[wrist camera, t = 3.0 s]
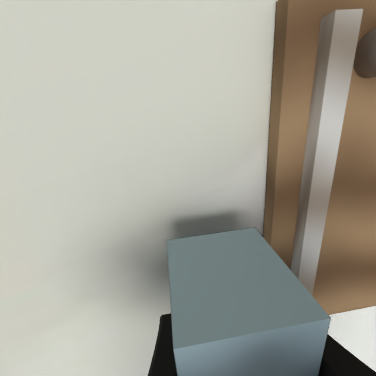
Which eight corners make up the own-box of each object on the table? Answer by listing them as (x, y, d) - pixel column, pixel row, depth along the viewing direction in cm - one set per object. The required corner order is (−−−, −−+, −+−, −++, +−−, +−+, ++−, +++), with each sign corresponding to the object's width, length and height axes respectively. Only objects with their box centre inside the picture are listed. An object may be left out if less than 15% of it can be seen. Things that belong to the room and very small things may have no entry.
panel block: (251, 323, 13) (303, 441, 8) (180, 337, 13) (192, 469, 8) (254, 227, 11) (330, 318, 6) (166, 240, 10) (173, 349, 5)
